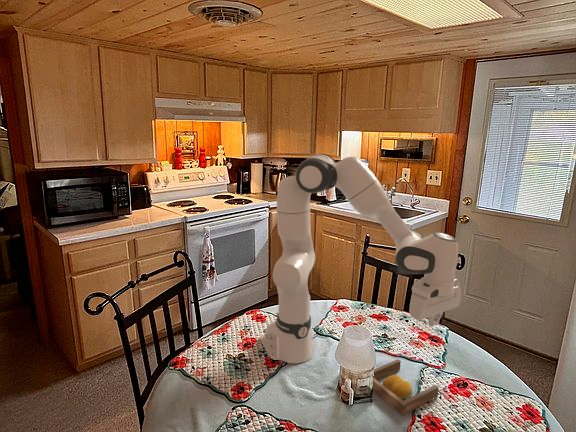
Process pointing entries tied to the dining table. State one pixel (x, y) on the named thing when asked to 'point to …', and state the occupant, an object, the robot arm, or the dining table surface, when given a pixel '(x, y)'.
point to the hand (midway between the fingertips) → (433, 324)
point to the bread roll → (398, 386)
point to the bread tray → (391, 398)
